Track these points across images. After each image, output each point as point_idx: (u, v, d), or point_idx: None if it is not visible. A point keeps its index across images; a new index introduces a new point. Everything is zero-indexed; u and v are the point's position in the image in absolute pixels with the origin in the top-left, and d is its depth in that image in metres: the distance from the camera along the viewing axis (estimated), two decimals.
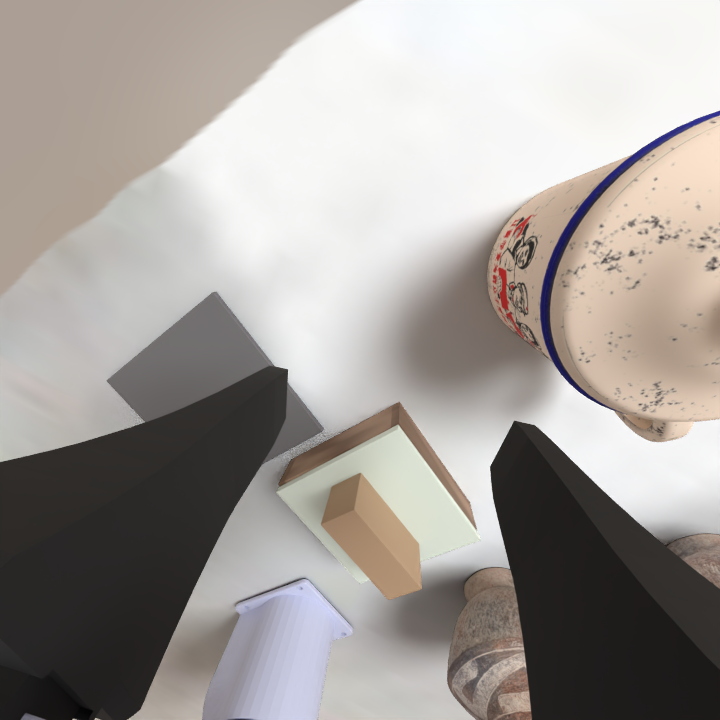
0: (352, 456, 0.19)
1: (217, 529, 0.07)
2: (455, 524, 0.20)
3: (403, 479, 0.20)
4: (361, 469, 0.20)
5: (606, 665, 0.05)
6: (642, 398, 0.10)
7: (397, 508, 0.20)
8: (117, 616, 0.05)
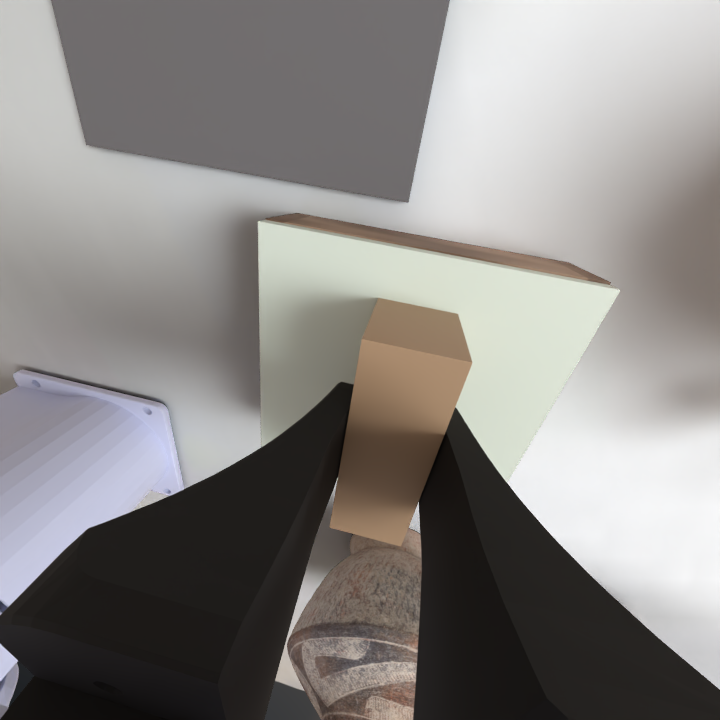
0: (480, 272, 0.08)
1: (308, 554, 0.07)
2: None
3: (505, 380, 0.10)
4: (465, 309, 0.09)
5: (456, 623, 0.05)
6: None
7: None
8: (264, 660, 0.04)
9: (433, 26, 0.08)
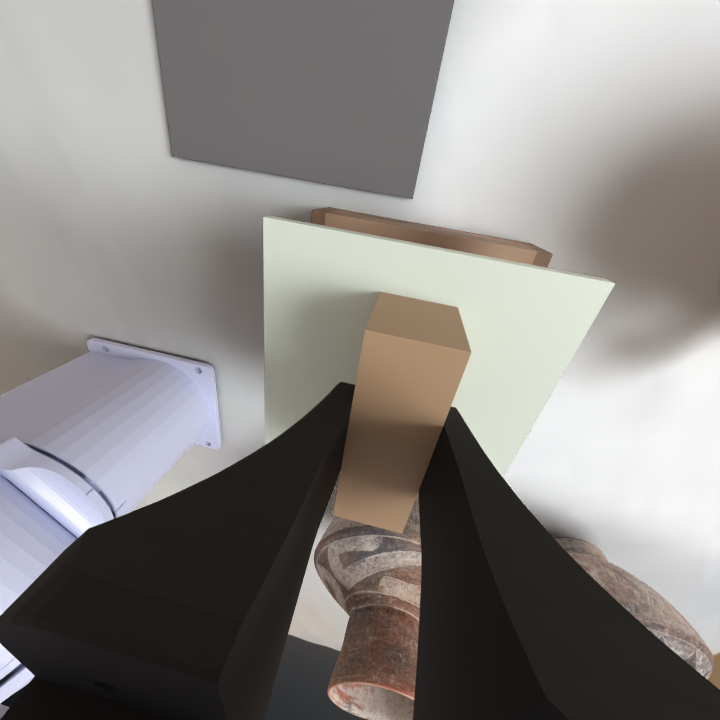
0: (480, 266, 0.09)
1: (308, 553, 0.07)
2: None
3: (503, 371, 0.10)
4: (464, 303, 0.09)
5: (456, 623, 0.05)
6: None
7: None
8: (265, 660, 0.04)
9: (430, 78, 0.12)
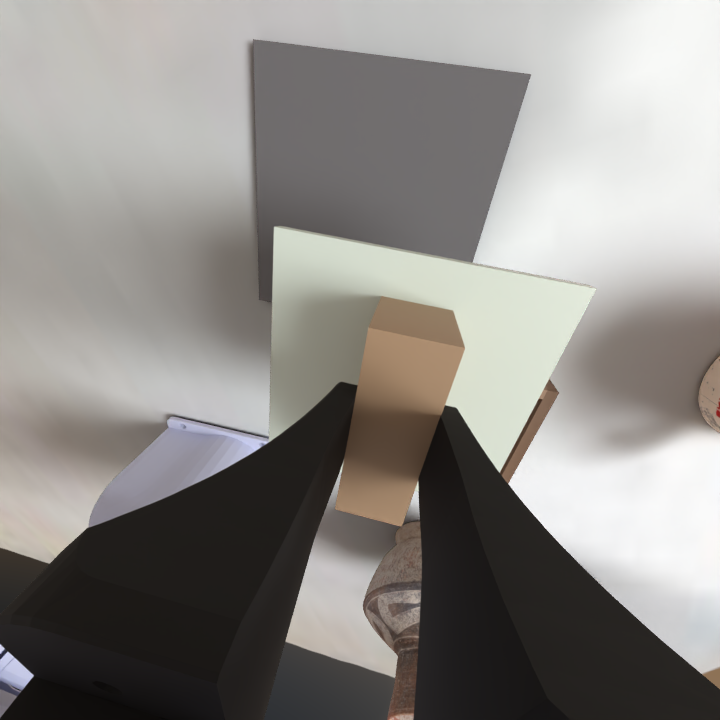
0: (473, 273, 0.09)
1: (308, 553, 0.07)
2: None
3: (496, 371, 0.11)
4: (459, 306, 0.10)
5: (456, 623, 0.05)
6: None
7: None
8: (264, 660, 0.04)
9: None
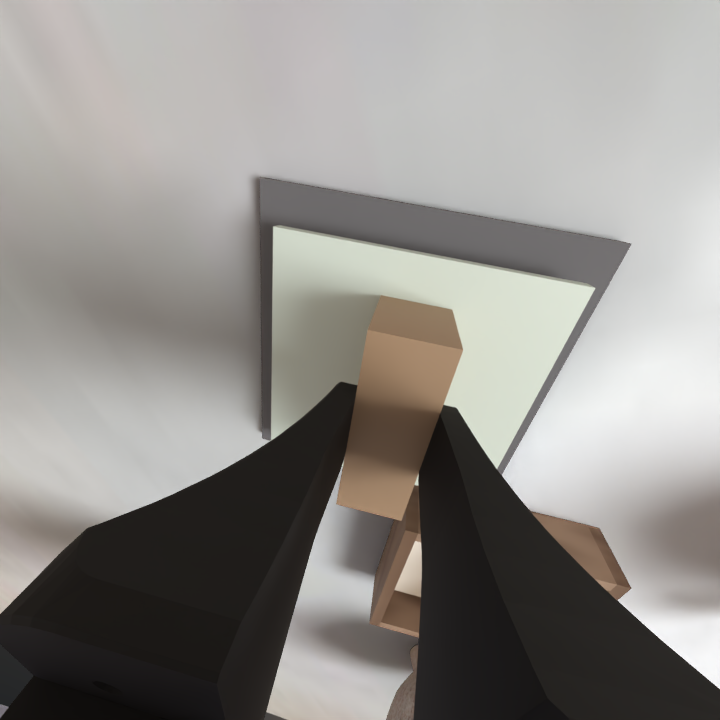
0: (472, 272, 0.10)
1: (308, 554, 0.07)
2: None
3: (495, 369, 0.11)
4: (458, 305, 0.10)
5: (456, 623, 0.05)
6: None
7: None
8: (264, 660, 0.04)
9: (519, 429, 0.13)
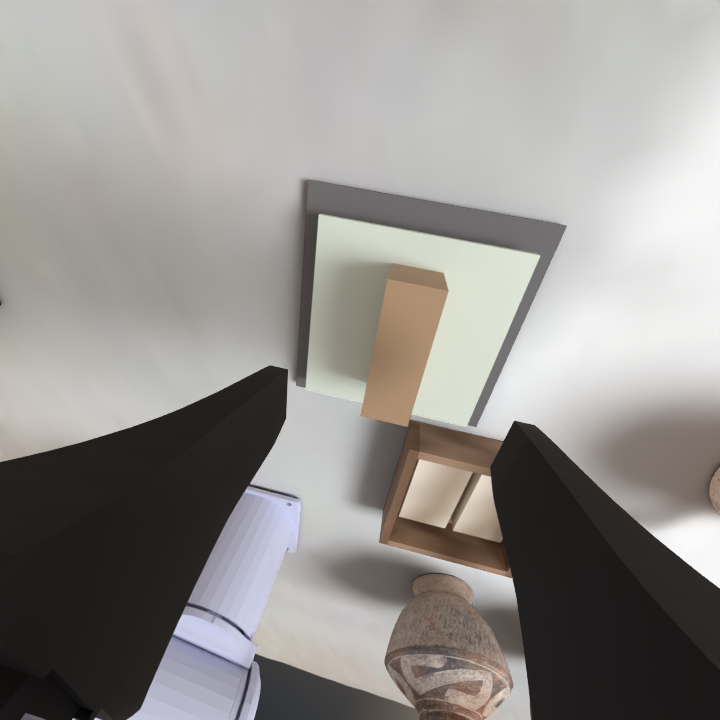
0: (457, 245, 0.14)
1: (217, 529, 0.07)
2: (464, 398, 0.17)
3: (474, 317, 0.15)
4: (448, 270, 0.14)
5: (606, 665, 0.05)
6: None
7: None
8: (117, 616, 0.05)
9: (496, 370, 0.18)
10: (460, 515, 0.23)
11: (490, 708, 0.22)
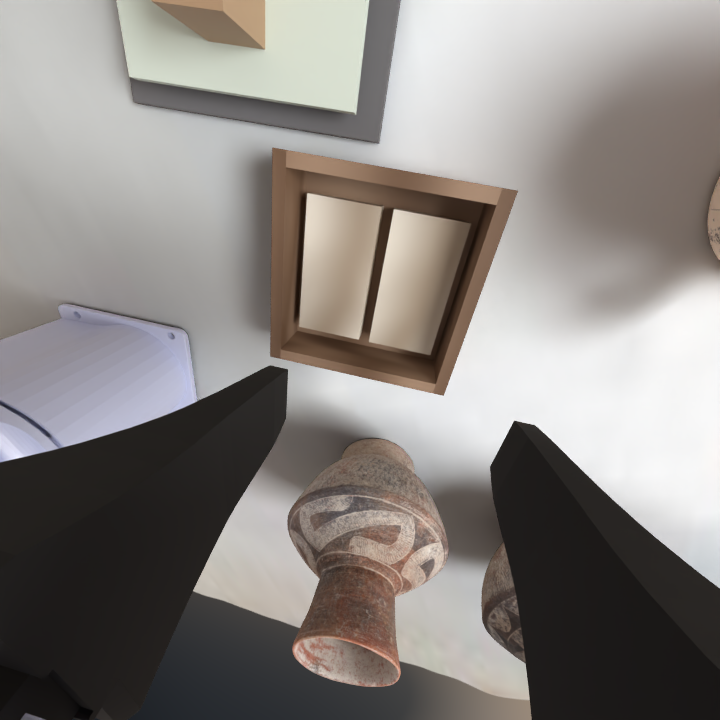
0: None
1: (217, 529, 0.07)
2: (341, 44, 0.12)
3: None
4: None
5: (606, 665, 0.05)
6: None
7: None
8: (117, 616, 0.05)
9: (390, 7, 0.12)
10: (374, 312, 0.17)
11: (413, 568, 0.17)
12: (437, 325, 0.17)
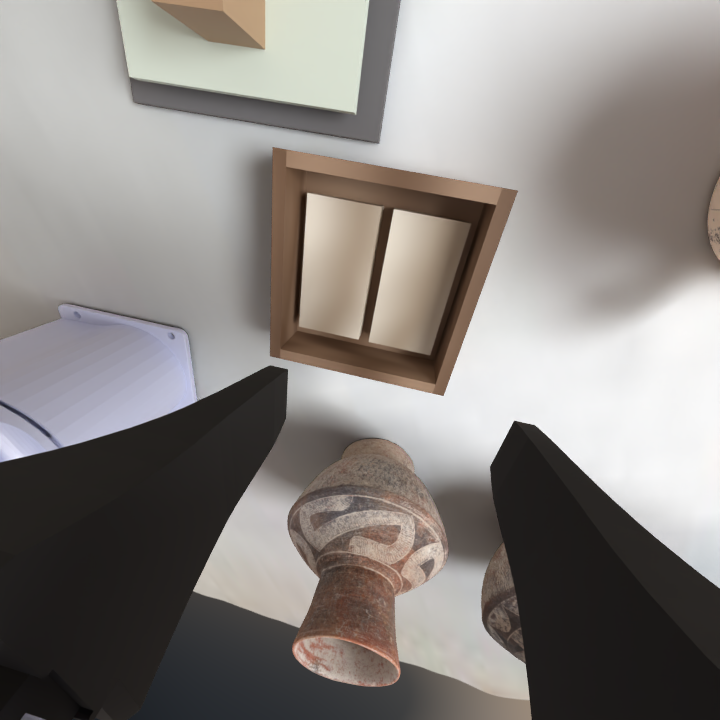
0: None
1: (217, 529, 0.07)
2: (341, 44, 0.12)
3: None
4: None
5: (606, 665, 0.05)
6: None
7: None
8: (117, 616, 0.05)
9: (390, 7, 0.12)
10: (374, 311, 0.17)
11: (413, 568, 0.17)
12: (437, 325, 0.17)
